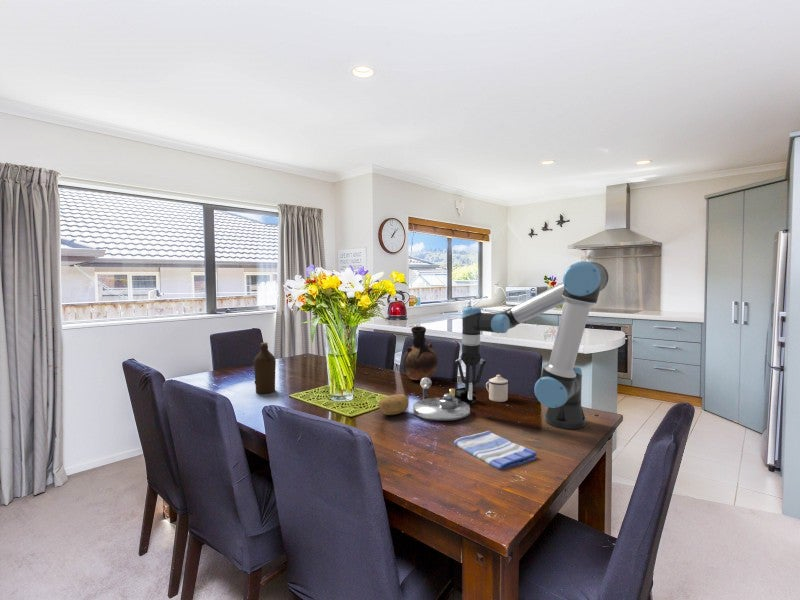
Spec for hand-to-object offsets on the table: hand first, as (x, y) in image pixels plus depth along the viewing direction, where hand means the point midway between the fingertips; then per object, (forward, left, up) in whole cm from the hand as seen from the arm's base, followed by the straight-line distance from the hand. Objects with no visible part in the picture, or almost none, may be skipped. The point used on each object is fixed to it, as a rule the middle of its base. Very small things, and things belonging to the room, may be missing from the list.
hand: (470, 398), depth 179 cm
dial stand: (+18, +15, -6) cm, 24 cm away
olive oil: (+56, +89, -7) cm, 105 cm away
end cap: (+16, -3, -7) cm, 17 cm away
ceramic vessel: (+61, +6, -7) cm, 61 cm away
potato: (+7, +32, -7) cm, 33 cm away
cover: (+2, +9, -3) cm, 10 cm away
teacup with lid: (+18, -20, -7) cm, 27 cm away
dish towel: (-37, +6, -7) cm, 39 cm away
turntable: (+3, +12, -5) cm, 13 cm away
